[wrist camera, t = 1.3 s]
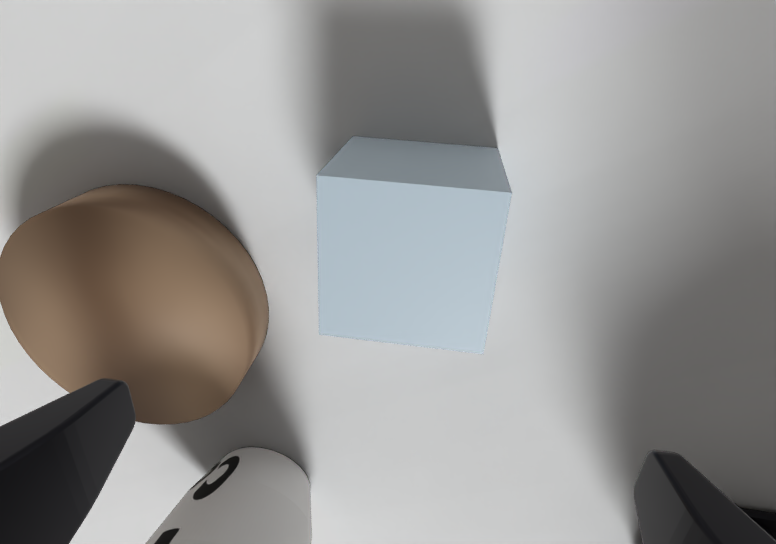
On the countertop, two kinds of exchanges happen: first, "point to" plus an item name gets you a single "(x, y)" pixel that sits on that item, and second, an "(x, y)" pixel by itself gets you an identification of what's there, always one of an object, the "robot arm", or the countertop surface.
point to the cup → (243, 503)
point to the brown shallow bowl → (136, 299)
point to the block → (410, 242)
